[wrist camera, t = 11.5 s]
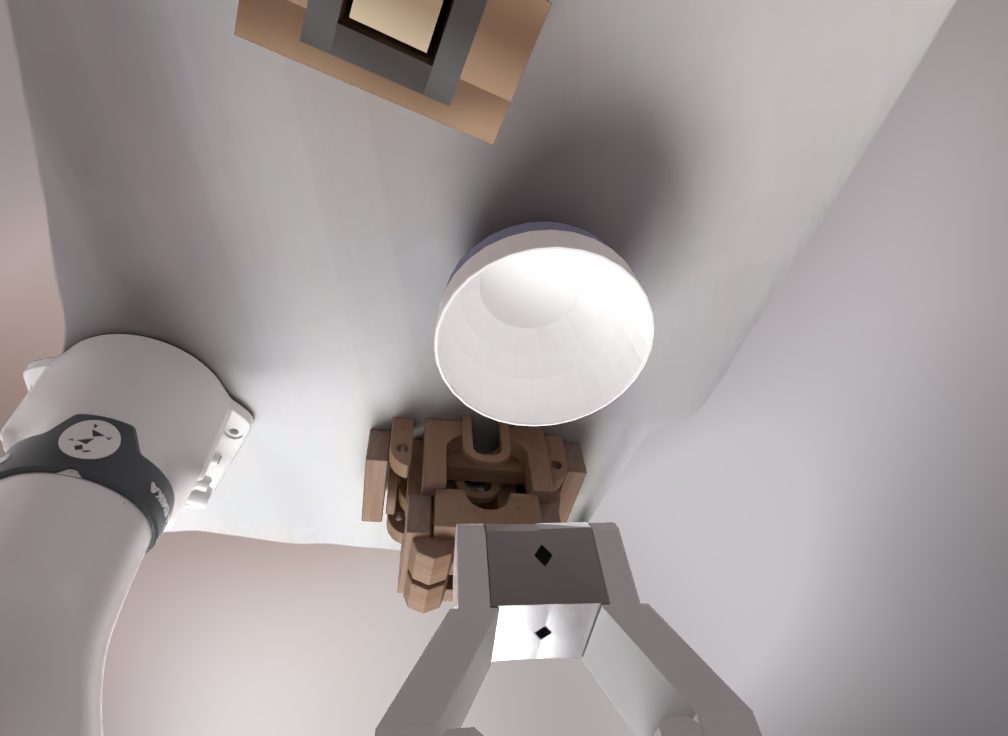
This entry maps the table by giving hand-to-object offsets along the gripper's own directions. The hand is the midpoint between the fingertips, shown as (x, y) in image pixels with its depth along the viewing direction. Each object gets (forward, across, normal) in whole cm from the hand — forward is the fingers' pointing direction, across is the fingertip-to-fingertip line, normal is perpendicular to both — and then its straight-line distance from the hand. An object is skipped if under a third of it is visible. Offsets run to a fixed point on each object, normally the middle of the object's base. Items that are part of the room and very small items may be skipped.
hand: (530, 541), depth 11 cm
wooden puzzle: (+37, -2, +38) cm, 53 cm away
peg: (+36, +4, -6) cm, 37 cm away
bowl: (+37, -6, +15) cm, 40 cm away
